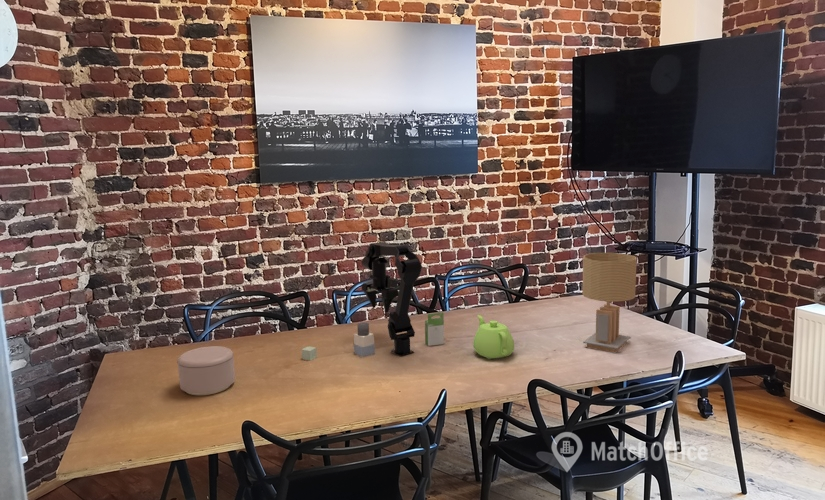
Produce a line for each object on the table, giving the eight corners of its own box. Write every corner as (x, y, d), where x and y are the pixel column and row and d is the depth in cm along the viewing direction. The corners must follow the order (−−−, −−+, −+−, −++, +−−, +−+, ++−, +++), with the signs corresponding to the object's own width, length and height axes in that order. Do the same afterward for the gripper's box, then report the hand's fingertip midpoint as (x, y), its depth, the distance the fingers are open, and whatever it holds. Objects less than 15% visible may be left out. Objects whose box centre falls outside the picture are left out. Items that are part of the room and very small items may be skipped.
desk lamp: (624, 356, 220) (627, 263, 214) (573, 347, 232) (575, 258, 226) (639, 342, 236) (643, 255, 230) (591, 334, 247) (593, 251, 241)
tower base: (375, 354, 231) (374, 344, 230) (361, 357, 228) (361, 347, 227) (367, 350, 236) (367, 340, 235) (354, 353, 233) (353, 343, 232)
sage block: (317, 357, 229) (316, 347, 228) (310, 360, 225) (309, 350, 224) (308, 356, 230) (308, 346, 230) (302, 359, 227) (301, 349, 226)
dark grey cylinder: (371, 334, 230) (371, 324, 229) (361, 336, 227) (361, 326, 226) (365, 331, 233) (364, 321, 232) (355, 333, 231) (355, 324, 230)
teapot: (462, 347, 235) (461, 315, 233) (495, 342, 241) (495, 311, 238) (488, 365, 215) (488, 331, 213) (524, 359, 220) (524, 325, 218)
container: (216, 372, 216) (214, 341, 214) (246, 384, 204) (243, 351, 202) (170, 388, 202) (166, 355, 200) (198, 401, 191) (195, 367, 189)
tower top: (374, 343, 231) (373, 333, 230) (363, 347, 227) (362, 337, 227) (365, 340, 235) (364, 331, 234) (354, 344, 231) (354, 334, 230)
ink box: (441, 341, 243) (440, 309, 241) (444, 344, 240) (443, 312, 237) (425, 343, 241) (424, 311, 239) (428, 346, 238) (427, 314, 235)
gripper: (408, 273, 239) (409, 310, 242) (382, 266, 253) (383, 301, 256) (386, 277, 232) (387, 316, 235) (360, 270, 247) (361, 306, 250)
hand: (380, 309), depth 244 cm, fingers open, 9 cm apart
